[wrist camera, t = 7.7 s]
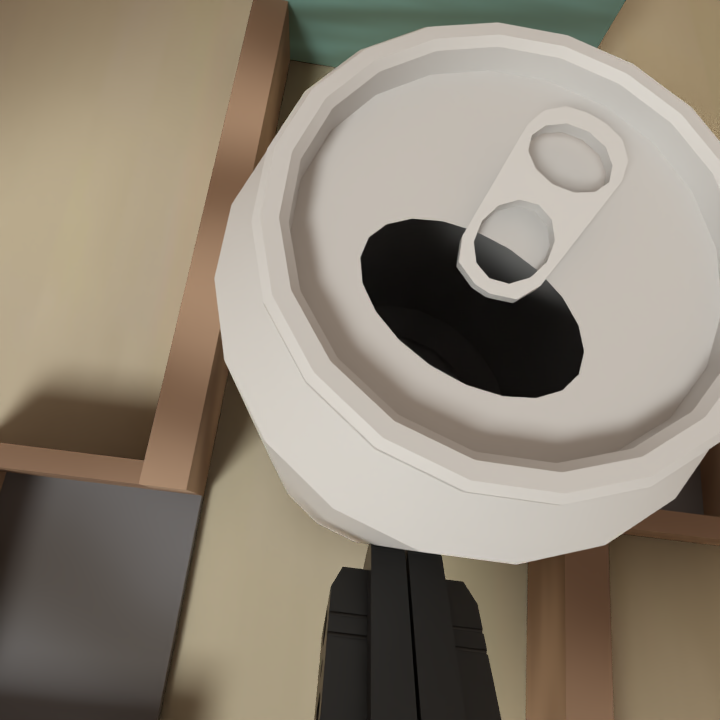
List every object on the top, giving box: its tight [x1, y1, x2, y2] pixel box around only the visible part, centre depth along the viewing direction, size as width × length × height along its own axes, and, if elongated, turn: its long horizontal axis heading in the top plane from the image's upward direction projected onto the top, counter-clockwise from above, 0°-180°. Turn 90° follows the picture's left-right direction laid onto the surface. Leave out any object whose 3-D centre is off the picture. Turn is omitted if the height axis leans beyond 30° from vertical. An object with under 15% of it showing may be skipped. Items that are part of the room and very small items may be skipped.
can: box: [214, 22, 720, 565], centre depth 12 cm, size 8×8×12 cm
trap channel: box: [0, 0, 720, 720], centre depth 14 cm, size 35×24×6 cm
